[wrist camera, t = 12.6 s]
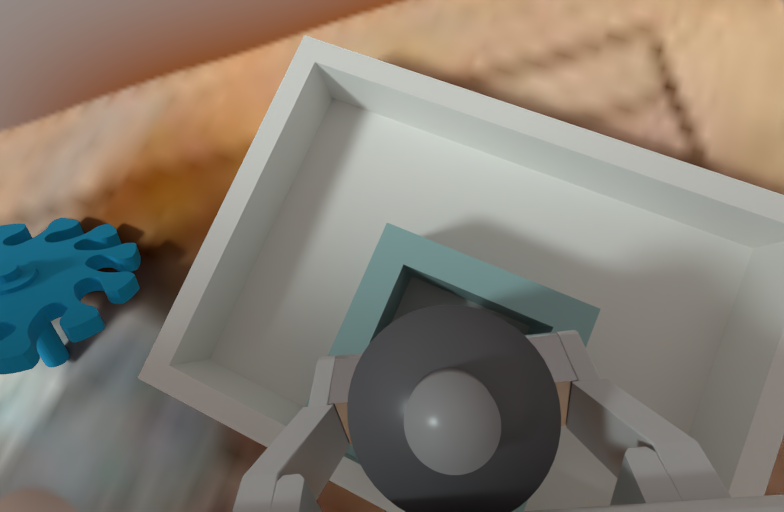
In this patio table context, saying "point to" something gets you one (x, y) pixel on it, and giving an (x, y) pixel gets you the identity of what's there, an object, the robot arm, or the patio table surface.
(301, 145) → the walled box
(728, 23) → the patio table surface
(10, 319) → the gear
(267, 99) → the patio table surface
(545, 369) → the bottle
